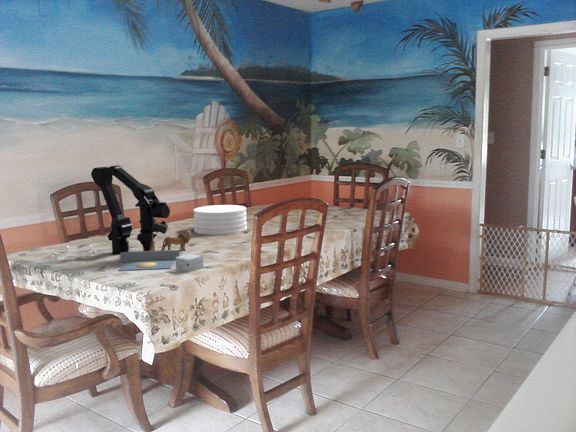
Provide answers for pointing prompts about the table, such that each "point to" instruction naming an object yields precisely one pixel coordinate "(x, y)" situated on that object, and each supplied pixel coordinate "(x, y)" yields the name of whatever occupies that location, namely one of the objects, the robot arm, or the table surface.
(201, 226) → the plate stack
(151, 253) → the low wall
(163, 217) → the robot arm
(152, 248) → the brown rounded cylinder
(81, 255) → the game piece set
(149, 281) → the table surface
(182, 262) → the small box
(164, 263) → the mat
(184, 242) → the lion figurine
